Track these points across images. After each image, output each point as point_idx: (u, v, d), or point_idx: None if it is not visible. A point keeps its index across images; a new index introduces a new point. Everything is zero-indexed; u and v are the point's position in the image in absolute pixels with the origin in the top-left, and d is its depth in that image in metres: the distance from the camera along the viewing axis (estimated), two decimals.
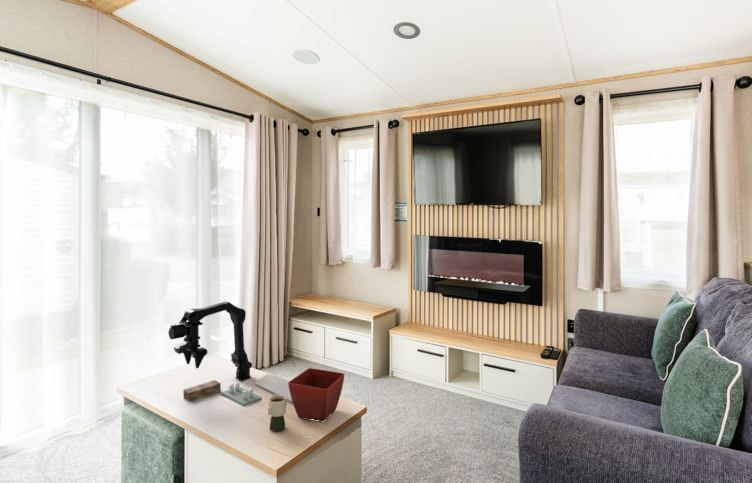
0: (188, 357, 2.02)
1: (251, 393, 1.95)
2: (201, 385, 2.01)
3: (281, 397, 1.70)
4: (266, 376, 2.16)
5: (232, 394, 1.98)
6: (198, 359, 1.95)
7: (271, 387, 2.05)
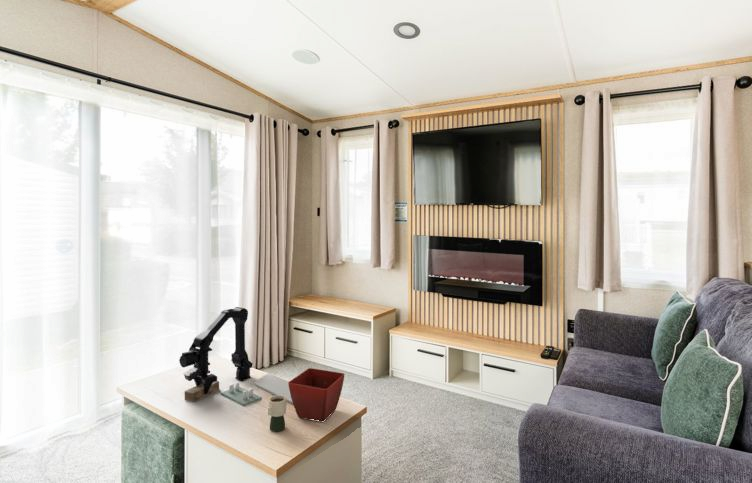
0: (198, 384, 2.03)
1: (251, 393, 1.95)
2: (200, 385, 2.01)
3: (281, 397, 1.70)
4: (265, 376, 2.15)
5: (232, 394, 1.98)
6: (207, 385, 1.97)
7: (270, 387, 2.05)
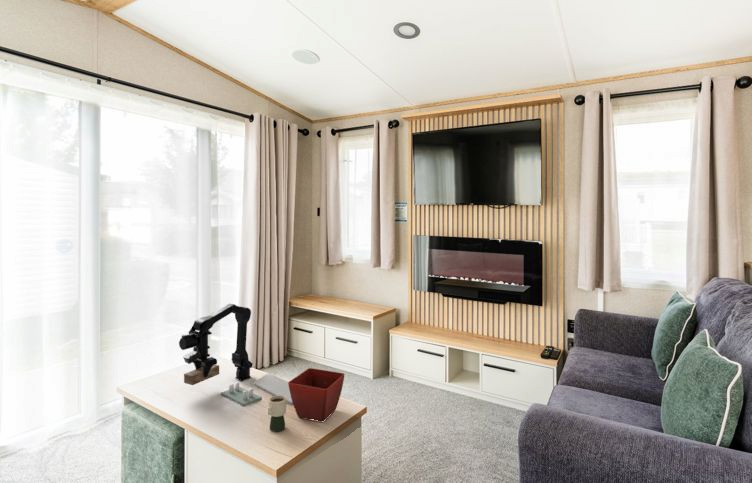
0: (198, 367, 2.02)
1: (251, 393, 1.95)
2: (200, 368, 2.01)
3: (281, 397, 1.70)
4: (265, 376, 2.15)
5: (232, 394, 1.98)
6: (206, 368, 1.97)
7: (270, 387, 2.05)
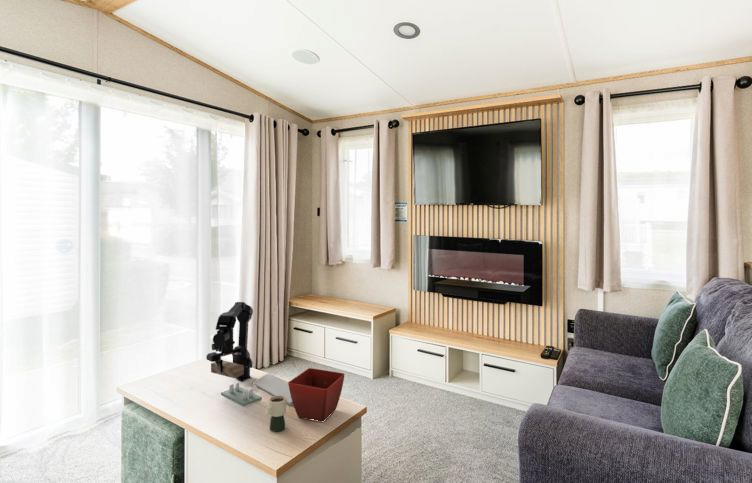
0: (234, 362, 2.01)
1: (251, 393, 1.95)
2: (229, 363, 1.99)
3: (281, 397, 1.70)
4: (265, 376, 2.15)
5: (232, 394, 1.98)
6: (218, 363, 1.94)
7: (269, 387, 2.04)
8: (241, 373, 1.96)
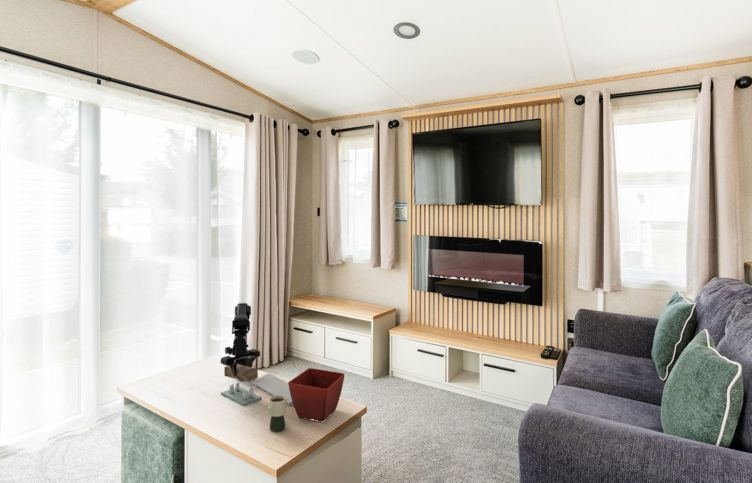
0: (247, 365, 2.00)
1: (251, 393, 1.95)
2: (243, 367, 1.99)
3: (281, 397, 1.70)
4: (265, 376, 2.15)
5: (232, 394, 1.98)
6: (232, 367, 1.94)
7: (269, 387, 2.04)
8: (255, 377, 1.96)
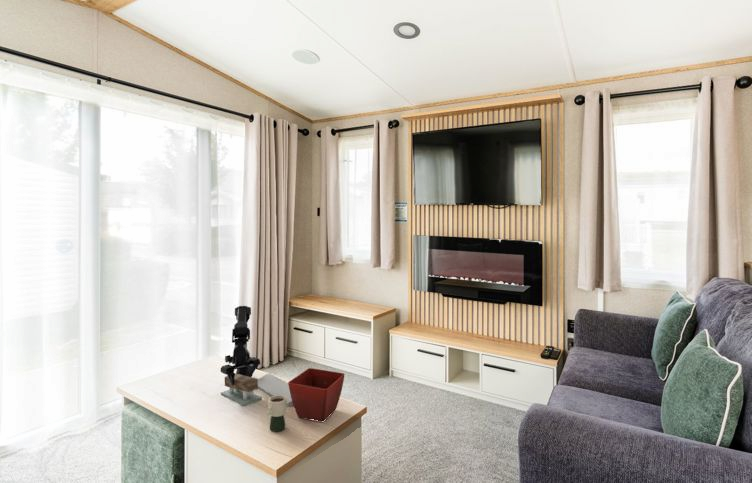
0: (249, 373, 2.01)
1: (251, 393, 1.95)
2: (243, 377, 1.99)
3: (281, 397, 1.70)
4: (265, 376, 2.15)
5: (232, 394, 1.98)
6: (230, 376, 1.93)
7: (268, 387, 2.04)
8: (255, 387, 1.96)
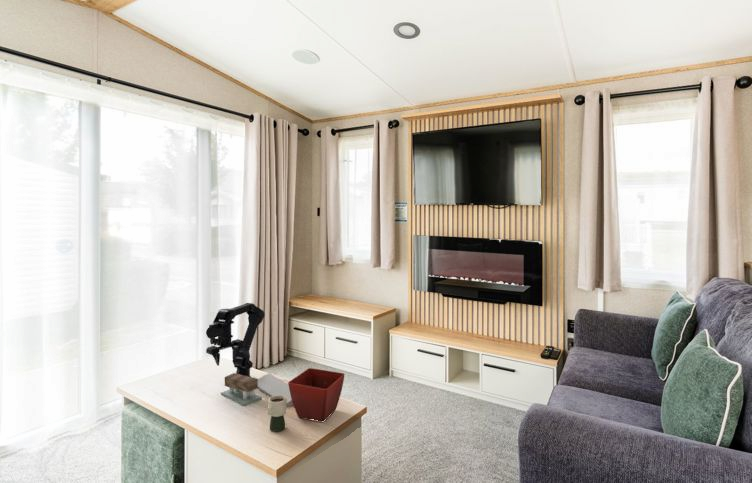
0: (233, 354, 2.13)
1: (251, 393, 1.95)
2: (243, 377, 1.99)
3: (281, 397, 1.70)
4: (265, 376, 2.15)
5: (232, 394, 1.98)
6: (215, 357, 2.04)
7: (267, 388, 2.04)
8: (255, 387, 1.96)
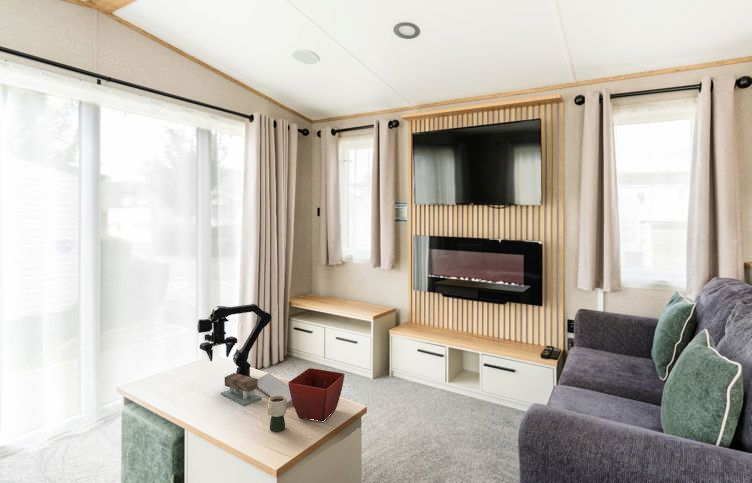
0: (227, 351, 2.18)
1: (251, 393, 1.95)
2: (243, 377, 1.99)
3: (281, 397, 1.70)
4: (265, 376, 2.15)
5: (232, 394, 1.98)
6: (208, 353, 2.10)
7: (266, 388, 2.04)
8: (255, 387, 1.96)
